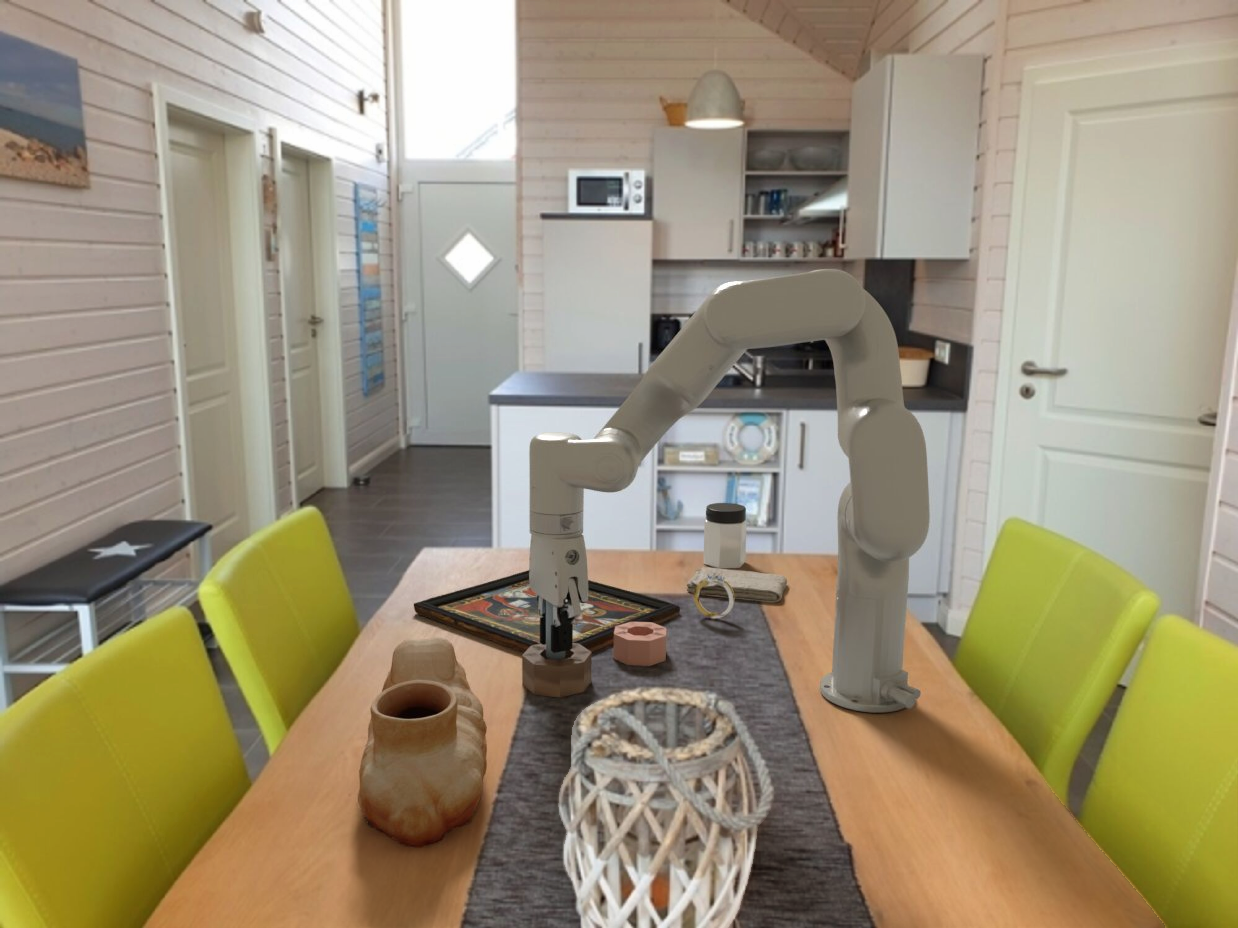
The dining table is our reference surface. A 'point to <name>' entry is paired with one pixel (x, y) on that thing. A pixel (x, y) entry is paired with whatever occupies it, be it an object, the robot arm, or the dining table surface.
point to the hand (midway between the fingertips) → (556, 645)
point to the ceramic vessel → (423, 747)
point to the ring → (714, 580)
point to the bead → (556, 671)
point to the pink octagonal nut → (640, 643)
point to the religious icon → (514, 617)
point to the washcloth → (741, 584)
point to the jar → (725, 535)
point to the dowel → (548, 633)
